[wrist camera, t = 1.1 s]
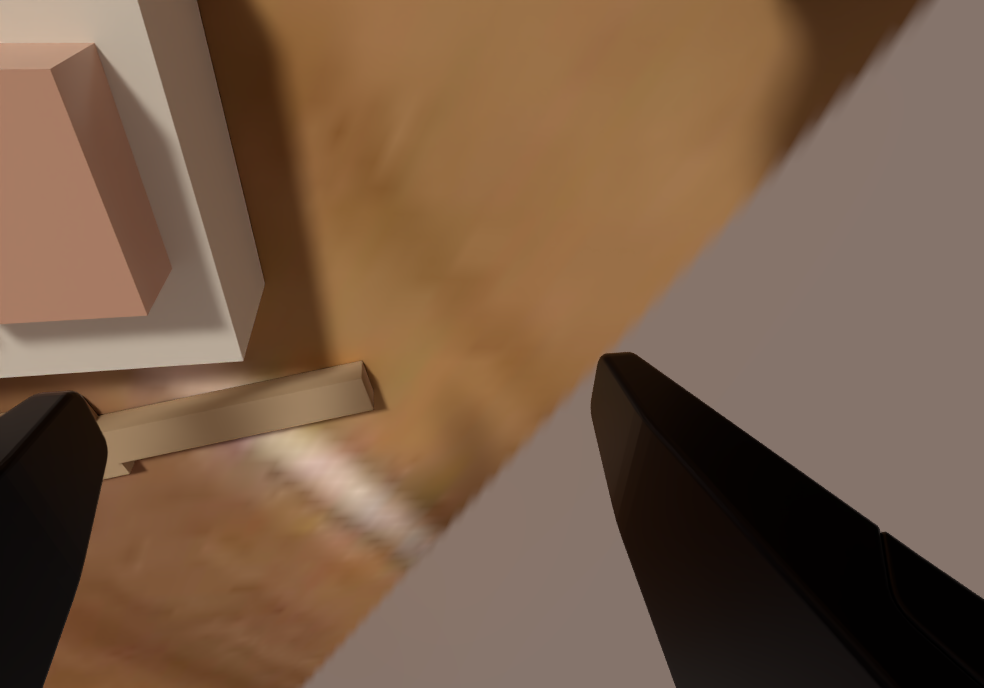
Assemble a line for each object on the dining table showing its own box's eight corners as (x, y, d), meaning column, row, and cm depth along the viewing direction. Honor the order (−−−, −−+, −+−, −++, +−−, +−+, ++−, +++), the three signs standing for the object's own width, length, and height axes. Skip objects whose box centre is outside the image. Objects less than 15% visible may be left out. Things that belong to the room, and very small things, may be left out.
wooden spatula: (354, 339, 22) (353, 357, 21) (380, 410, 24) (380, 428, 23) (-59, 425, 21) (-76, 446, 20) (7, 488, 24) (-5, 509, 23)
